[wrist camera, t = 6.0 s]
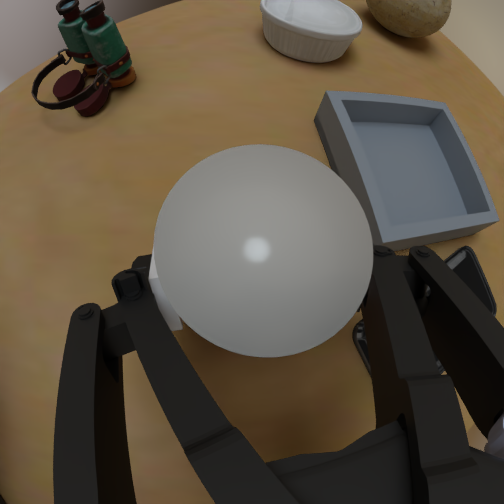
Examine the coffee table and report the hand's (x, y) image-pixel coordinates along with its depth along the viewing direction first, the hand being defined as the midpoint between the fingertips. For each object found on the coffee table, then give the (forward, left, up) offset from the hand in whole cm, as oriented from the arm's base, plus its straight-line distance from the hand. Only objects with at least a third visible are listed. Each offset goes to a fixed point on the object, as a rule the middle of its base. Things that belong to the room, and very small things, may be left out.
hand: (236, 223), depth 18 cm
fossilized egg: (+29, +30, -4) cm, 42 cm away
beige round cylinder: (0, -4, -4) cm, 6 cm away
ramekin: (+12, +23, -5) cm, 27 cm away
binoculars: (-12, +18, -5) cm, 23 cm away
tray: (+16, +4, -4) cm, 17 cm away
